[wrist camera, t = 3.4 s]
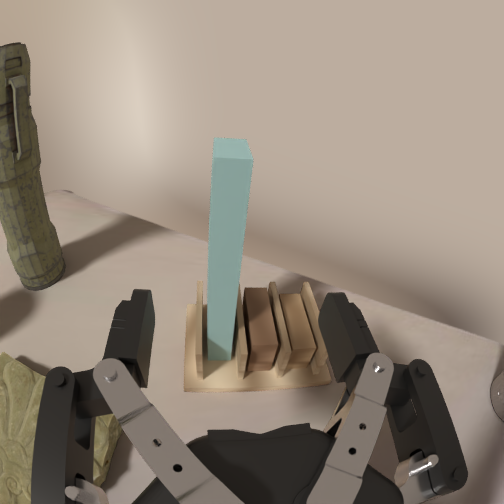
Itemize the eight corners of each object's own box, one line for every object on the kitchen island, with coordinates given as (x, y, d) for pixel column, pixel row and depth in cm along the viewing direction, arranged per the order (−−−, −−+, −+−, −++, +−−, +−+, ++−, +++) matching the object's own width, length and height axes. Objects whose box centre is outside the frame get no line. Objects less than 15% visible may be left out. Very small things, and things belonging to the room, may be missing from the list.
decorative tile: (-44, 476, 9) (-63, 466, 7) (12, 361, 25) (-1, 344, 23) (82, 574, 8) (66, 578, 6) (133, 421, 24) (124, 408, 22)
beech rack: (306, 309, 40) (316, 276, 36) (328, 384, 30) (347, 355, 27) (187, 309, 37) (185, 274, 34) (184, 391, 28) (179, 363, 24)
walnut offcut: (260, 316, 36) (266, 287, 34) (270, 370, 30) (278, 344, 27) (240, 316, 36) (244, 287, 33) (247, 371, 30) (252, 345, 27)
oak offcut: (292, 315, 37) (299, 293, 35) (306, 367, 31) (316, 347, 28) (273, 316, 37) (279, 293, 34) (285, 369, 30) (293, 349, 28)
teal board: (228, 325, 35) (246, 139, 22) (230, 360, 31) (253, 159, 18) (207, 325, 34) (214, 137, 21) (207, 360, 30) (213, 157, 17)
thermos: (48, 301, 34) (-3, 40, 13) (8, 278, 35) (-38, 65, 15) (82, 265, 41) (56, 32, 20) (39, 249, 43) (10, 52, 22)
